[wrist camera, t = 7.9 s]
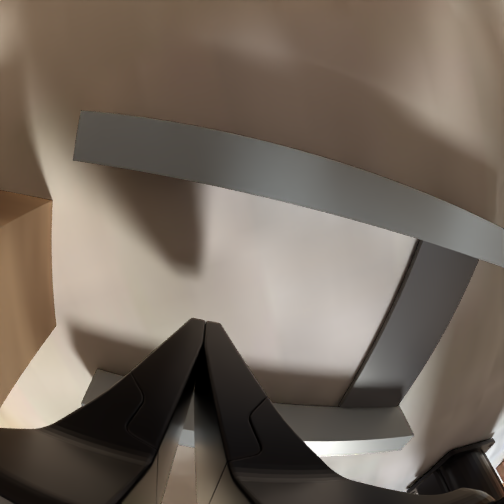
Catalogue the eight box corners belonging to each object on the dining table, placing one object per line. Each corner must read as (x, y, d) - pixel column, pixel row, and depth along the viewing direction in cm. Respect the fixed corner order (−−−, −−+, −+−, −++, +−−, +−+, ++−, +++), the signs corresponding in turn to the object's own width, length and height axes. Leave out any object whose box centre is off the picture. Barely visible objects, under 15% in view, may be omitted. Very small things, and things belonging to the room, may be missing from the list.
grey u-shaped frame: (494, 224, 10) (527, 241, 8) (388, 421, 13) (400, 450, 11) (111, 113, 8) (81, 110, 6) (98, 387, 11) (85, 421, 10)
